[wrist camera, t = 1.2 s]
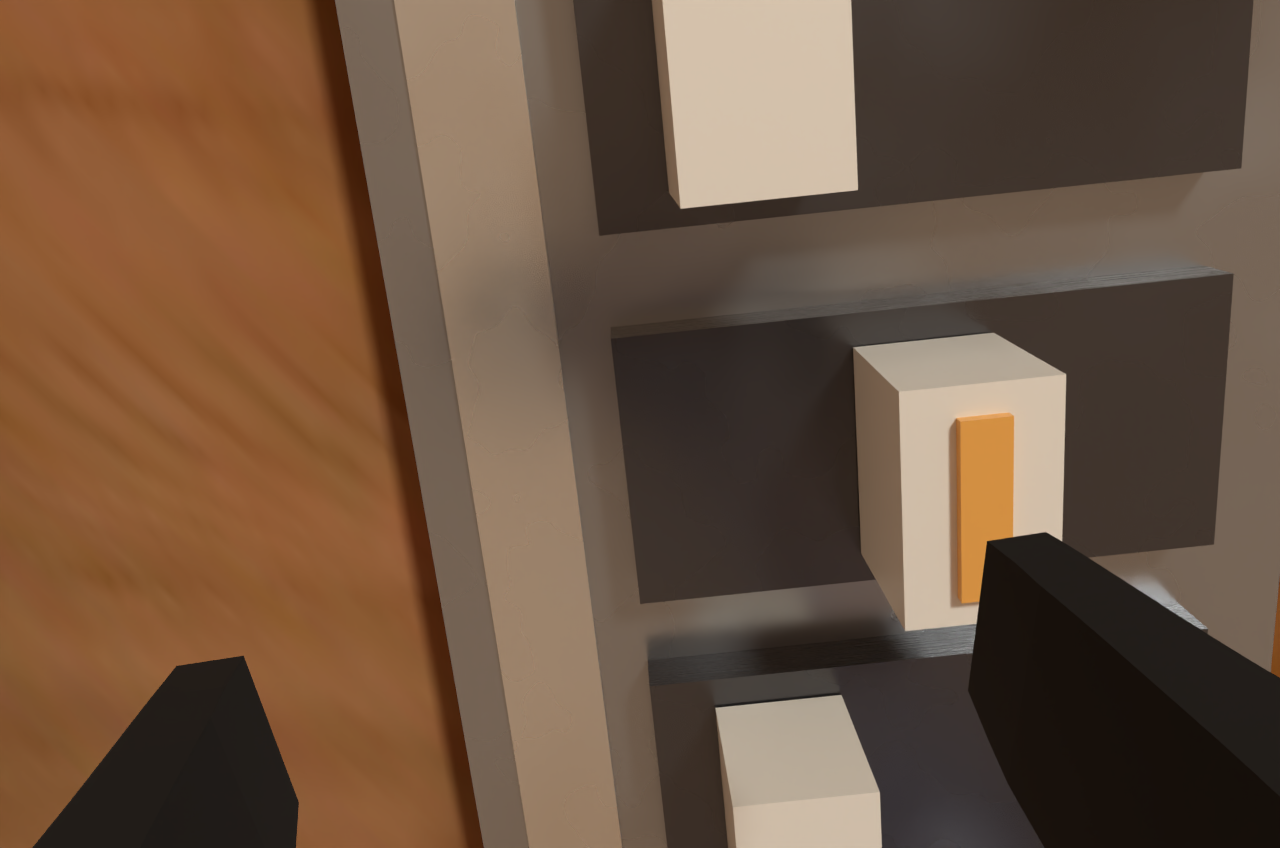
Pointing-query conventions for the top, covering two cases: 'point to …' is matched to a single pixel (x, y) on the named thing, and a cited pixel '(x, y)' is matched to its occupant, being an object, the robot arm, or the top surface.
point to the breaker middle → (953, 465)
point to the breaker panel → (804, 374)
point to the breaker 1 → (756, 98)
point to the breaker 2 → (796, 776)
